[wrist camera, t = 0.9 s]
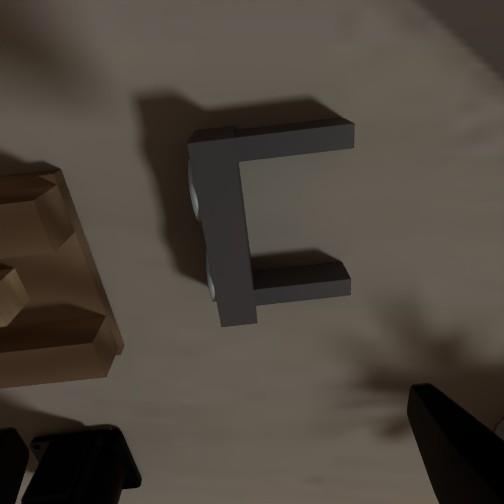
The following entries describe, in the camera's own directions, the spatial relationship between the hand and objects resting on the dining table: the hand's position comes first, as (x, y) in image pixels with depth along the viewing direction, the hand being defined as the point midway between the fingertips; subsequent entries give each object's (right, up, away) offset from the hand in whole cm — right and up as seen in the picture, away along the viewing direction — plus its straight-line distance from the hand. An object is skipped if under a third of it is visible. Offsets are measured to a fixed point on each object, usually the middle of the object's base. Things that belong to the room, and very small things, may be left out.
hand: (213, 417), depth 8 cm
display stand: (-11, +2, +11) cm, 16 cm away
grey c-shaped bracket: (+2, +6, +10) cm, 12 cm away
